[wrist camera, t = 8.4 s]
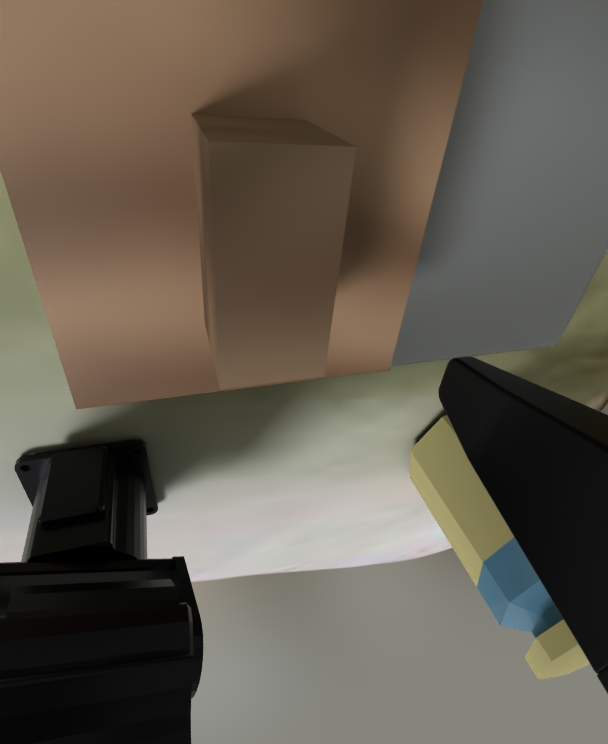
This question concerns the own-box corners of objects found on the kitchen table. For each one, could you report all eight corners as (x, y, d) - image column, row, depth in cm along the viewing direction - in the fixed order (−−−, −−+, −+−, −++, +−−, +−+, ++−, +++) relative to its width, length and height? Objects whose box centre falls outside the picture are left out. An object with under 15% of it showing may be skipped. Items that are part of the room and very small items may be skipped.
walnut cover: (377, 354, 19) (432, 427, 16) (79, 387, 16) (63, 491, 12) (458, -3, 12) (594, -18, 8) (-61, -84, 8) (-202, -166, 5)
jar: (385, 483, 35) (504, 697, 24) (428, 396, 30) (604, 617, 19) (474, 473, 38) (615, 657, 27) (526, 393, 33) (726, 579, 22)
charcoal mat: (546, 337, 30) (556, 345, 29) (360, 358, 26) (367, 368, 25) (718, -8, 19) (742, -9, 18) (444, -62, 15) (460, -67, 14)
